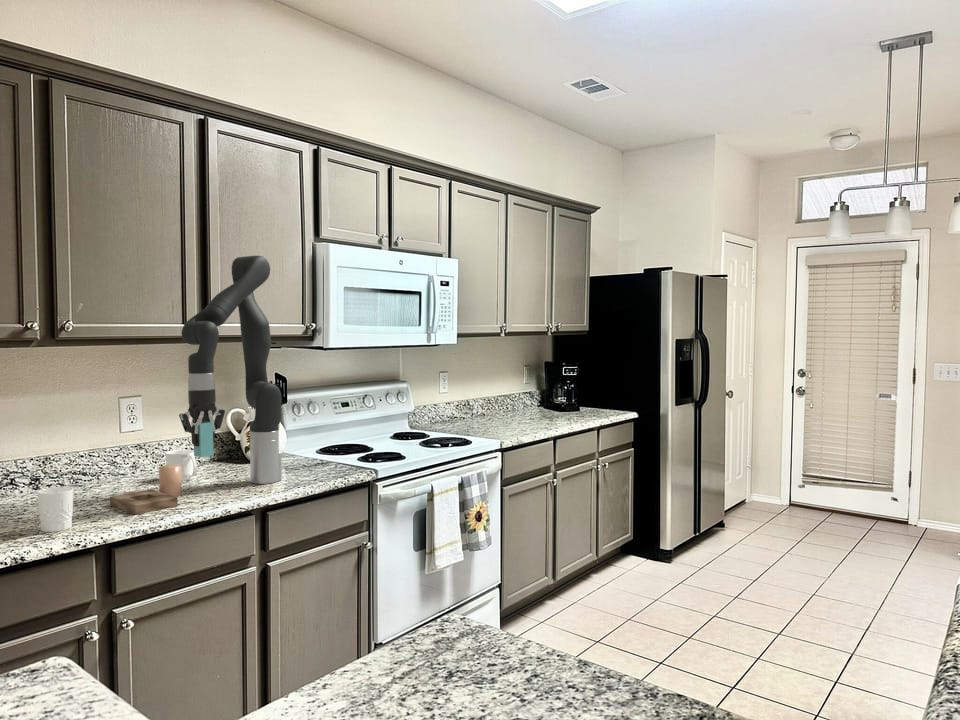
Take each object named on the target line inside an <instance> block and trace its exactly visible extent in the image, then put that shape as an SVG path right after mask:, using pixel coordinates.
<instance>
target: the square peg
mask: <svg viewBox="0 0 960 720" xmlns="http://www.w3.org/2000/svg"><path fill="white" fill-rule="evenodd" d="M196 423H197V422H196ZM198 434H199V446H197V447H196V446H194V445H193V450H194V456H195V457H197V458H207V457H211V456H212V457H213V456H214V455H215V454H214V443H213V422H211V423H210V422H201V424H200V426H199V432H198Z"/></svg>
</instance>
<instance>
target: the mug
mask: <svg viewBox="0 0 960 720" xmlns="http://www.w3.org/2000/svg"><path fill="white" fill-rule="evenodd" d="M165 465H181V482H186V481H187V482H188V481H192V480H193V479H195V478H196V474H197V472H198V466H197V460H196V456H194V449H174V450H169V451H168V450H167V451H166V452H165Z"/></svg>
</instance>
